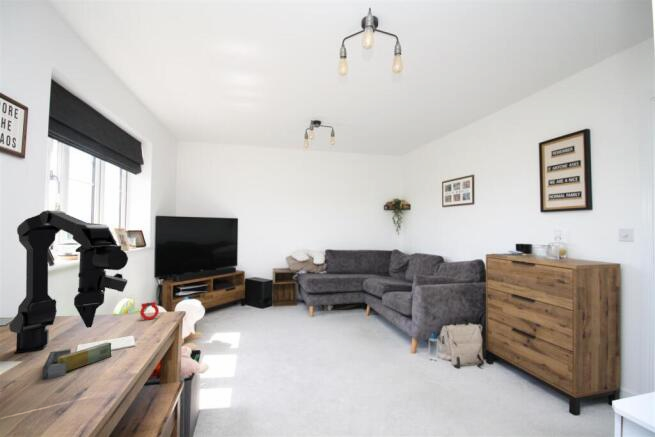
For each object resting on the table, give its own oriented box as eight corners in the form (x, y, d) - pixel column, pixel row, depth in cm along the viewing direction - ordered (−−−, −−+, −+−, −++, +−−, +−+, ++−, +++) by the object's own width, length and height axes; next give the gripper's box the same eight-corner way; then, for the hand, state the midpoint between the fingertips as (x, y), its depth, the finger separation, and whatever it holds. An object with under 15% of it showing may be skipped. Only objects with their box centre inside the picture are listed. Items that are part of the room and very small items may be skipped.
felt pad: (74, 357, 87) (74, 356, 87) (77, 346, 95) (77, 345, 95) (135, 346, 96) (135, 344, 96) (133, 336, 104) (133, 335, 104)
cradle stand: (42, 379, 74) (42, 367, 74) (50, 362, 83) (50, 352, 84) (65, 374, 77) (66, 363, 77) (70, 358, 86) (71, 348, 86)
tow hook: (141, 320, 120) (139, 303, 123) (136, 328, 126) (134, 312, 129) (159, 317, 124) (157, 300, 127) (154, 325, 130) (152, 309, 133)
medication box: (106, 355, 89) (106, 341, 89) (112, 356, 88) (112, 342, 88) (56, 372, 78) (57, 356, 79) (62, 373, 77) (62, 357, 77)
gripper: (127, 270, 82) (125, 326, 82) (124, 263, 97) (123, 310, 97) (74, 273, 76) (72, 334, 75) (81, 265, 91) (79, 316, 90)
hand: (90, 322), depth 84 cm, fingers open, 9 cm apart
